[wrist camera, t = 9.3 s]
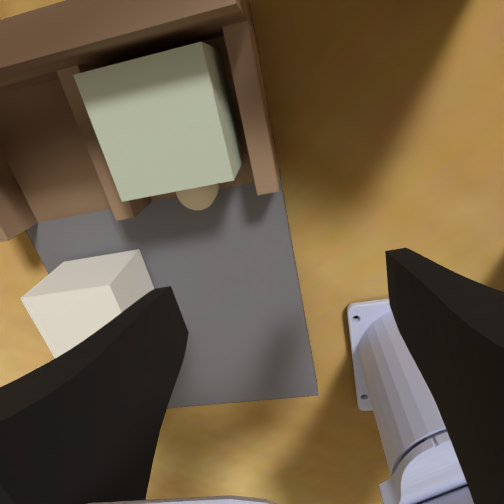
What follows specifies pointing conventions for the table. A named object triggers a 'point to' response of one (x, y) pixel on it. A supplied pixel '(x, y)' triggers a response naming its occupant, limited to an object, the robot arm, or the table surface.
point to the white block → (85, 297)
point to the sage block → (165, 124)
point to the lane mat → (212, 288)
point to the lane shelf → (74, 111)
